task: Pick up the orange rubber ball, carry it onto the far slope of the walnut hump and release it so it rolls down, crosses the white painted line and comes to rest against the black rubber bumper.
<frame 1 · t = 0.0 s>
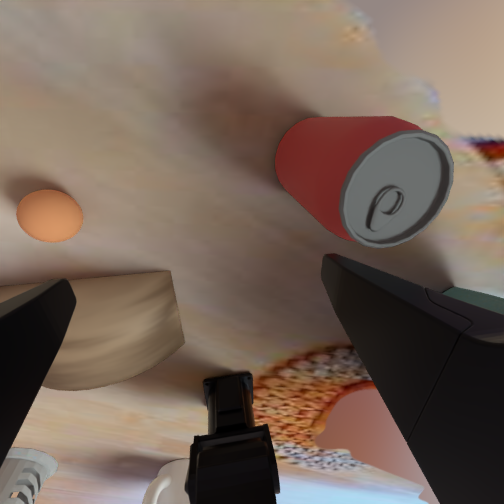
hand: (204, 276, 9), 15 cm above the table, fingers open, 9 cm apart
beer can: (309, 159, 22), on the table
ball: (51, 216, 20), point 2 cm above the table
french press: (21, 468, 37), on the table
flower pot: (424, 332, 36), on the table
hump: (91, 319, 27), on the table
mug: (176, 465, 43), on the table
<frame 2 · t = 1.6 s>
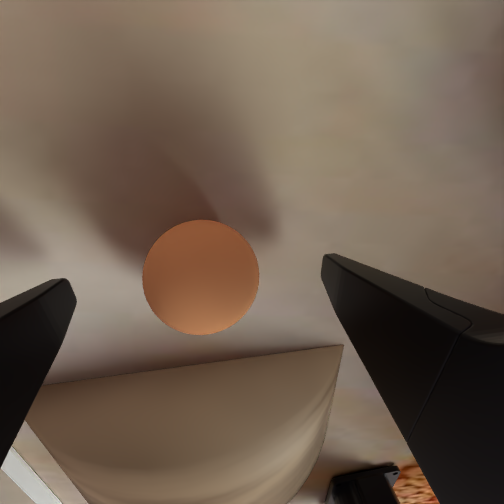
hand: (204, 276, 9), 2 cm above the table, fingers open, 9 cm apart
ball: (203, 276, 9), point 2 cm above the table
line: (2, 450, 15), on the table
hump: (201, 418, 16), on the table
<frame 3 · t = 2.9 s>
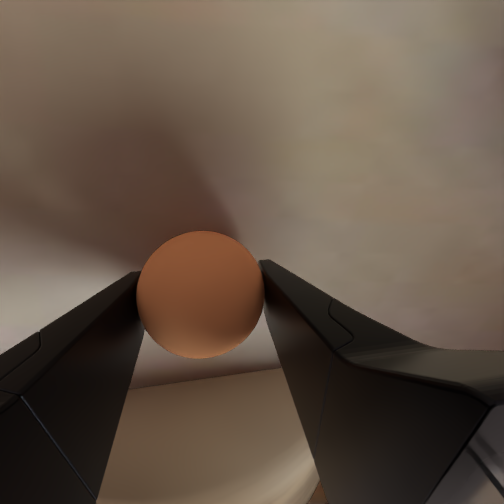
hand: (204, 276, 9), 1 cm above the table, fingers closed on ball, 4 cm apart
ball: (203, 292, 8), point 2 cm above the table, touching gripper
hump: (201, 434, 15), on the table
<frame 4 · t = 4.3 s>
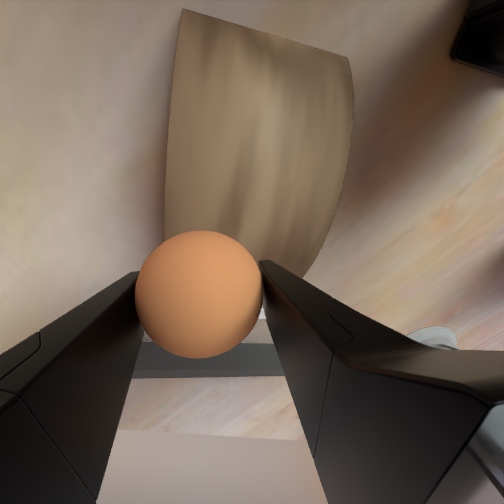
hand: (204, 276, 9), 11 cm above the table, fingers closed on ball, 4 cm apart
bumper: (217, 346, 25), on the table
ball: (202, 291, 8), point 12 cm above the table, touching gripper
french press: (422, 356, 32), on the table
hump: (245, 186, 19), on the table
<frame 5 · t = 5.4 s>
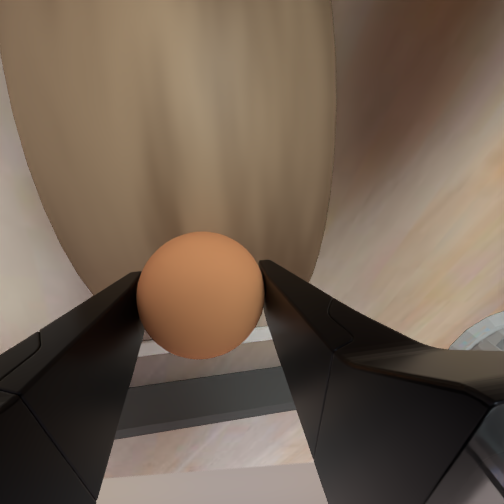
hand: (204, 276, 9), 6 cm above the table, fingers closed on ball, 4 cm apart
bumper: (223, 378, 20), on the table
ball: (203, 292, 8), point 7 cm above the table, touching gripper
line: (219, 338, 18), on the table
french press: (495, 347, 24), on the table
hump: (200, 175, 13), on the table
when the fingers open (6 cm above the table, at t = 5.7 s): ball drops 5 cm, point 2 cm above the table.
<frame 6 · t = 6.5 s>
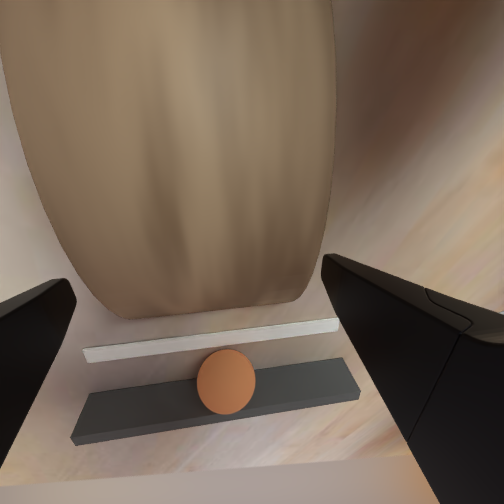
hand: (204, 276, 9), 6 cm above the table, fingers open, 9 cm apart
bumper: (223, 378, 20), on the table
ball: (226, 380, 18), point 2 cm above the table
line: (219, 338, 18), on the table
hump: (200, 174, 13), on the table
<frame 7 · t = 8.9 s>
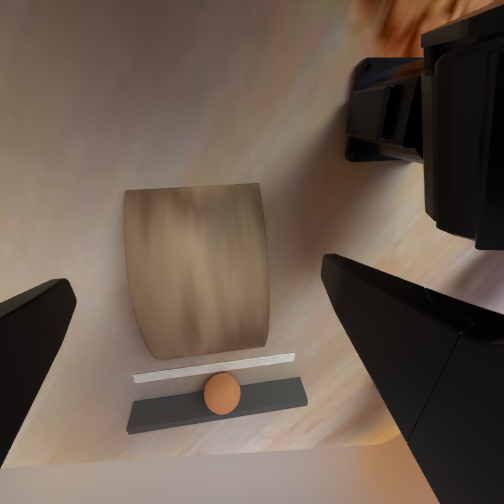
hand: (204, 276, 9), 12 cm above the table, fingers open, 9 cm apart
bumper: (220, 391, 31), on the table
ball: (222, 393, 28), point 2 cm above the table, tilted 7°
line: (217, 366, 29), on the table
hump: (206, 283, 24), on the table
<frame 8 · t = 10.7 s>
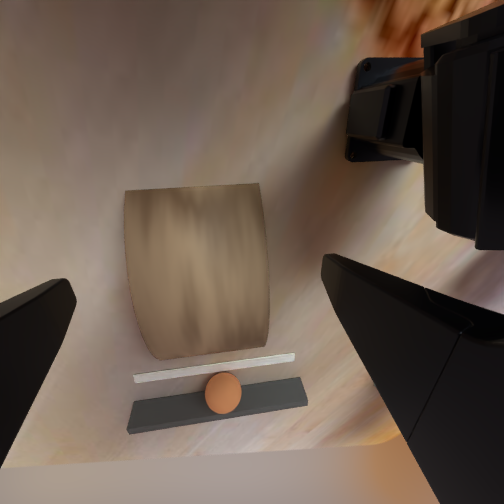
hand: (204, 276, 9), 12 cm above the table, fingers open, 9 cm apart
bumper: (220, 391, 31), on the table
ball: (223, 392, 28), point 2 cm above the table, tilted 10°
line: (217, 366, 29), on the table
hump: (206, 283, 24), on the table
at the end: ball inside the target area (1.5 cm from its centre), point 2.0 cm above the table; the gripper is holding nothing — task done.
